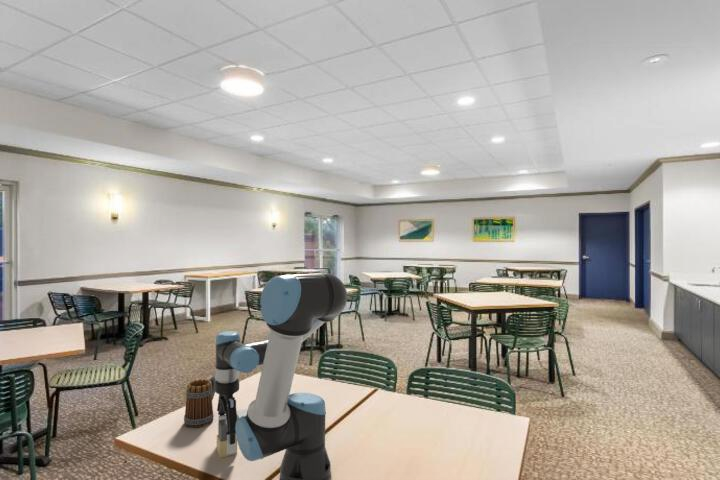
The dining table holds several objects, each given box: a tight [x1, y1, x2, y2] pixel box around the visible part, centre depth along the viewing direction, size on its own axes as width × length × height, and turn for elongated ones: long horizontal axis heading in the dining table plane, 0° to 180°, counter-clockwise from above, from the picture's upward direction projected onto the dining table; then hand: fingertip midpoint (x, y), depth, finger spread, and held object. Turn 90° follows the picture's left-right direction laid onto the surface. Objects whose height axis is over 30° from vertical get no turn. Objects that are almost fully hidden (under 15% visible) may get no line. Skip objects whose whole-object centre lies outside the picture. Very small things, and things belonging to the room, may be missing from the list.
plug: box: [216, 419, 238, 459], centre depth 132 cm, size 5×5×10 cm
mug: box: [183, 376, 217, 429], centre depth 155 cm, size 16×11×15 cm
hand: (226, 443), depth 132 cm, fingers open, 13 cm apart
